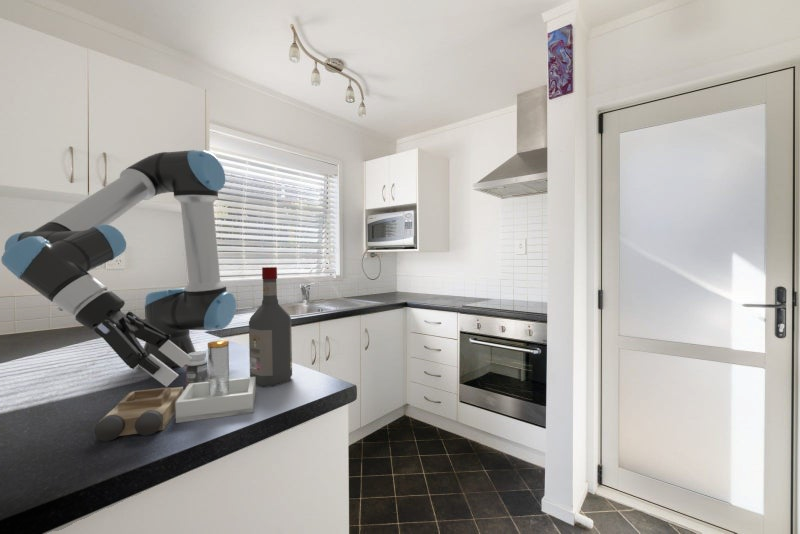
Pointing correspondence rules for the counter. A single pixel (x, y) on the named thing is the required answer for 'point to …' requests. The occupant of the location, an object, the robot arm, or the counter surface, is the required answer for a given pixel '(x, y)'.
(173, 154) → the robot arm
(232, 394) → the tray
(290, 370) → the liquor
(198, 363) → the pill bottle
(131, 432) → the trolley block
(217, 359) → the gold capped bottle
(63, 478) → the counter surface
